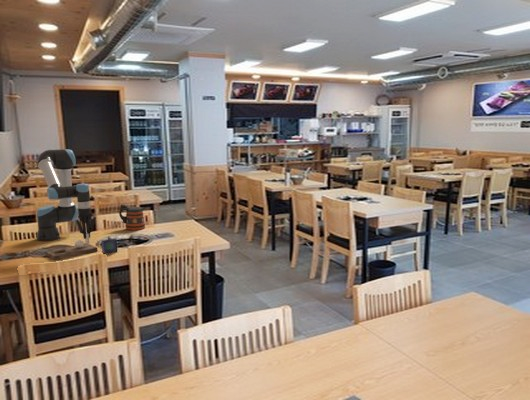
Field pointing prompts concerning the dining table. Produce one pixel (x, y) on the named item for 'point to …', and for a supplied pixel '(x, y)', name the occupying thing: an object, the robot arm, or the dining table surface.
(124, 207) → the beer stein
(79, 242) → the ball
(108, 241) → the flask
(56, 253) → the board
